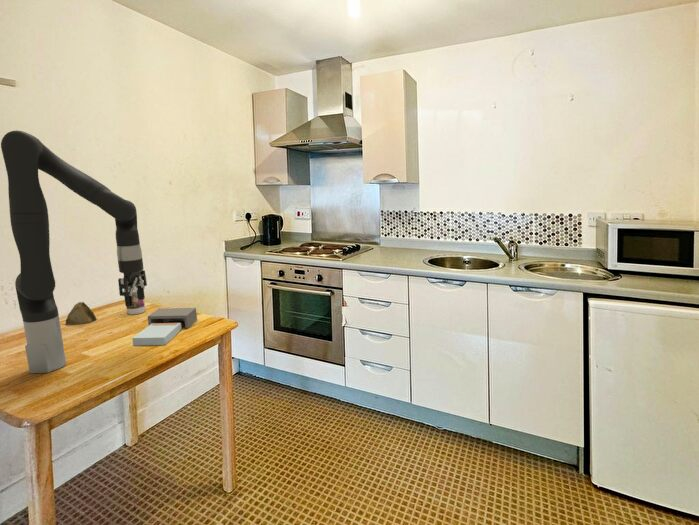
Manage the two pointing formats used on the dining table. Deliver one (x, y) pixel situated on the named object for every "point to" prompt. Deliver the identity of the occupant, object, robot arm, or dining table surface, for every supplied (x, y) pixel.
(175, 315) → the low shelf
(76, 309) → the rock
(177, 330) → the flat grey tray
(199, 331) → the dining table surface
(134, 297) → the milk bottle
